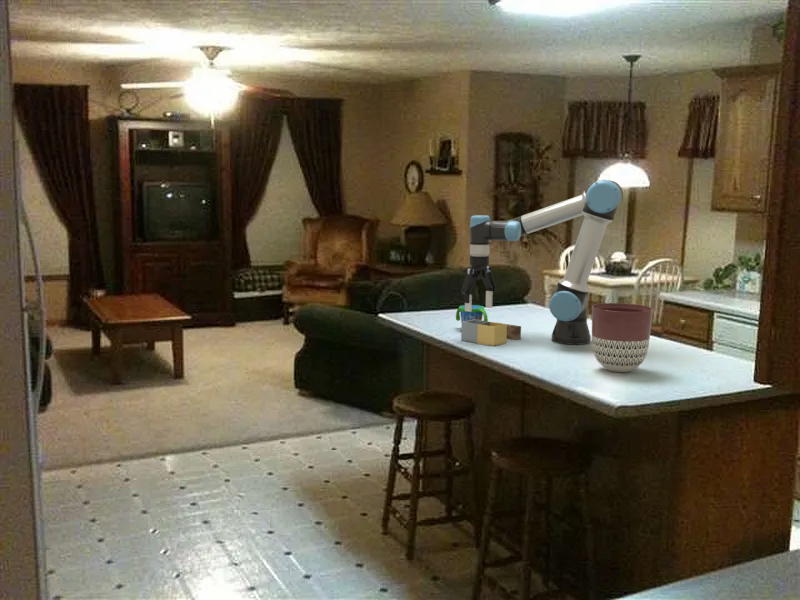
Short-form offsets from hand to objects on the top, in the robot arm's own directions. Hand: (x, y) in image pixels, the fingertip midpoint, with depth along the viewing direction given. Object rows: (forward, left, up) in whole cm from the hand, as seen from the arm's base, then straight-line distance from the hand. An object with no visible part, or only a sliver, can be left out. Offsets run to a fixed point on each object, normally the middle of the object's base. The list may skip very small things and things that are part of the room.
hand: (478, 309), depth 324 cm
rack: (-4, -13, -12) cm, 19 cm away
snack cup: (+15, -15, -13) cm, 25 cm away
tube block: (-4, +1, -12) cm, 13 cm away
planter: (-66, +9, -13) cm, 67 cm away
